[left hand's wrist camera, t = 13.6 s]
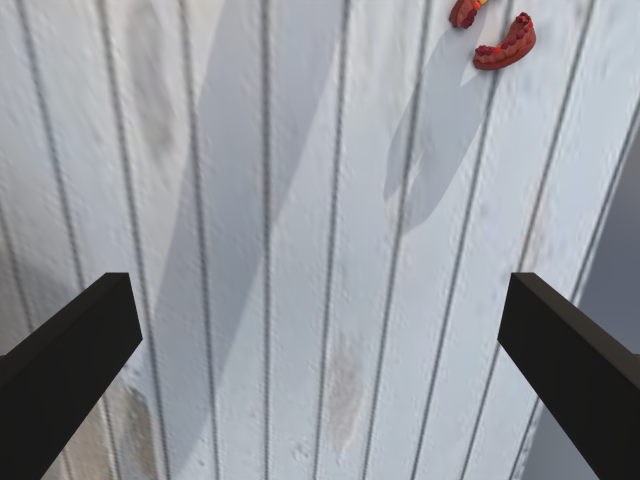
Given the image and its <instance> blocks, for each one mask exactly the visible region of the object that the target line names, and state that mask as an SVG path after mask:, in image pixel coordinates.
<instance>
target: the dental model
mask: <svg viewBox="0 0 640 480" xmlns="http://www.w3.org/2000/svg"><path fill="white" fill-rule="evenodd" d="M486 1H487V0H458V1H457V2H456V4H455V6H454V7H453V9H452V11H451V14H450V17H449V20H450V21H451V23H452V24H453V25H454V26H455V27H456V26H457V27H462V26H463V28H464V29H467V28H468V27H469V26H471V25H472V23H473V21H474V15H475V16H476V14H477V10H478V9H480V8H481V4H484V3H485V2H486ZM479 2H480V3H479ZM535 42H536V35H535V31H534V28H533V23H532V21H531V18H530V16H528V15H527V13H524V12H522V13H521V14H520V15H519V16H517V17H516V20H515V21H514V22H513V24H512V25H511V29H510V31H509V33H508V35H507V37H506V38H505V39H504V41H503V42H502V43H500V44H499V45H498V46H496V47H495V48H494V47H486V46H485V45H483V46H479V48H477V49H475V52H476V54H475V57H474V59H473V62H474V64H475V67H476V68H477V69H480V70H496V69H499V68H503V67H506V66H508V65H511V64H513V63H515V62H516V61H518V60H520V59H521V58H523V57H524V56H525V55H526V54H527V53H529V51H530V50H531V49H532V48H533V46H534V45H535Z"/></svg>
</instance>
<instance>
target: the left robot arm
mask: <svg viewBox="0 0 640 480" xmlns="http://www.w3.org/2000/svg"><path fill="white" fill-rule="evenodd" d="M142 340H143V338H142V333H141V329H140V324H139V319H138V315H137V310H136V305H135V301H134V296H133V291H132V287H131V282H130V277H129V273H105V274H104V275H103V276H101V277H100V278H99V279H98V280H96V281H95V282H94V283H93V284H92V285H90V286H89V287H88V288H87V289H85V290H84V291H83V292H82V293H81V294H79V295H78V296H77V297H76V298H75V299H73V300H72V301H71V302H70V303H68V304H67V305H66V306H65V307H64V308H62V309H61V310H60V311H59V312H57V313H56V314H55V315H54V316H53V317H51V318H50V319H49V320H48V321H46V322H45V323H44V324H43V325H42V326H40V327H39V328H38V329H37V330H36V331H34V332H33V333H32V334H31V335H29V336H28V337H27V338H26V339H25V340H23V341H22V342H21V343H20V344H18V345H17V346H16V347H15V348H14V349H12V350H11V351H10V352H9V353H7V354H6V355H2V356H0V480H40V479H41V478H42V477H43V475H44V474H45V473H46V471H47V470H48V468H49V467H50V466H51V464H52V463H53V462H54V460H55V459H56V457H57V456H58V455H59V453H60V452H61V451H62V449H63V448H64V447H65V445H66V444H67V442H68V441H69V440H70V438H71V437H72V436H73V434H74V433H75V431H76V430H77V429H78V427H79V426H80V425H81V423H82V422H83V421H84V419H85V418H86V416H87V415H88V414H89V412H90V411H91V410H92V408H93V407H94V405H95V404H96V403H97V401H98V400H99V399H100V397H101V396H102V395H103V393H104V392H105V390H106V389H107V388H108V386H109V385H110V384H111V382H112V381H113V380H114V378H115V377H116V375H117V374H118V373H119V371H120V370H121V369H122V367H123V366H124V364H125V363H126V362H127V360H128V359H129V358H130V356H131V355H132V354H133V352H134V351H135V349H136V348H137V347H138V345H139V344H140V343H141V341H142ZM497 340H498V341H499V343H500V344H501V345H502V347H503V348H504V349H505V351H506V352H507V354H508V355H509V356H510V358H511V359H512V360H513V362H514V363H515V364H516V366H517V367H518V369H519V370H520V371H521V373H522V374H523V375H524V377H525V378H526V380H527V381H528V382H529V384H530V385H531V386H532V388H533V389H534V390H535V392H536V393H537V395H538V396H539V397H540V399H541V400H542V401H543V403H544V404H545V405H546V407H547V408H548V410H549V411H550V412H551V414H552V415H553V416H554V418H555V419H556V421H557V422H558V423H559V425H560V426H561V427H562V429H563V430H564V431H565V433H566V434H567V436H568V437H569V438H570V440H571V441H572V442H573V444H574V445H575V446H576V448H577V449H578V451H579V452H580V453H581V455H582V456H583V457H584V459H585V460H586V462H587V463H588V464H589V466H590V467H591V468H592V470H593V471H594V472H595V474H596V475H597V477H598V478H599V479H600V480H640V355H639V354H633V353H631V352H630V351H629V350H628V349H626V348H625V347H624V346H623V345H622V344H620V343H619V342H618V341H617V340H615V339H614V338H613V337H612V336H611V335H609V334H608V333H607V332H606V331H604V330H603V329H602V328H601V327H600V326H598V325H597V324H596V323H595V322H593V321H592V320H591V319H590V318H589V317H587V316H586V315H585V314H584V313H583V312H581V311H580V310H579V309H578V308H576V307H575V306H574V305H573V304H572V303H570V302H569V301H568V300H567V299H565V298H564V297H563V296H562V295H561V294H559V293H558V292H557V291H556V290H555V289H553V288H552V287H551V286H550V285H548V284H547V283H546V282H545V281H544V280H542V279H541V278H540V277H539V276H537V275H536V274H535V273H511V277H510V282H509V287H508V291H507V296H506V301H505V305H504V310H503V315H502V319H501V324H500V329H499V333H498V338H497Z"/></svg>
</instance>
